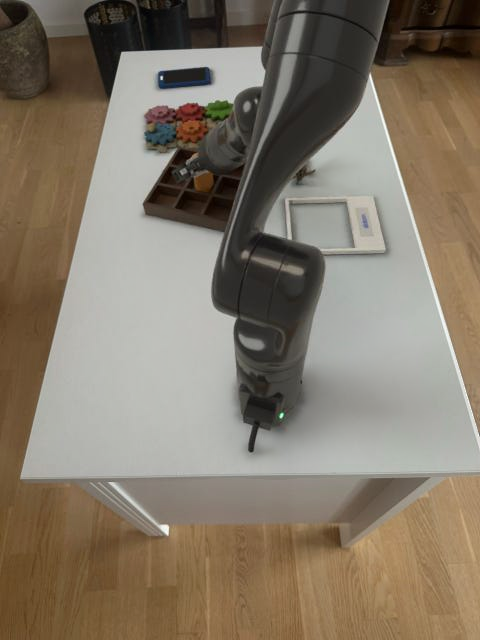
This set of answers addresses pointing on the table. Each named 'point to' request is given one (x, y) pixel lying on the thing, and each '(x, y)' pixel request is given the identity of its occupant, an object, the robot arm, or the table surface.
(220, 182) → the grid
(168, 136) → the gear puzzle
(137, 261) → the table surface
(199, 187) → the orange cylinder
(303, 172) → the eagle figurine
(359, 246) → the photo frame
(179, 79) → the cell phone
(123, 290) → the table surface
